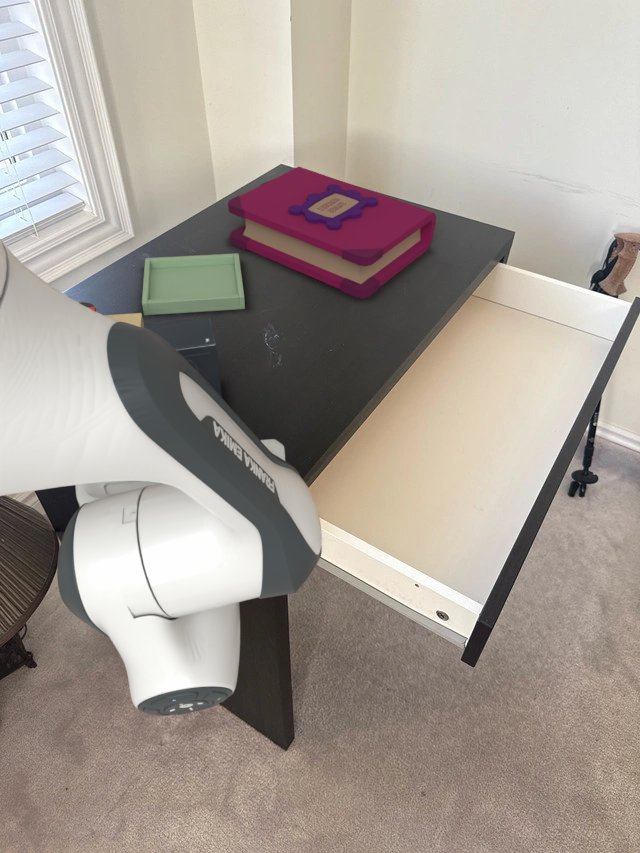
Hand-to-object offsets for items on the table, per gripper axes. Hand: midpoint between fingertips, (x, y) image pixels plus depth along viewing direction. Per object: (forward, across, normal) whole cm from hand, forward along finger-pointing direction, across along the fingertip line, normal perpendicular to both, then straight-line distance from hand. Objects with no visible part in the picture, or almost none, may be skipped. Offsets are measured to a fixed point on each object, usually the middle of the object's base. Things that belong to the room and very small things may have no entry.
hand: (184, 425), depth 67 cm
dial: (+22, +13, +3) cm, 26 cm away
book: (+47, -24, +6) cm, 53 cm away
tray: (+36, -1, +6) cm, 37 cm away
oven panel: (+22, +11, +6) cm, 25 cm away
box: (+10, 0, +6) cm, 12 cm away
